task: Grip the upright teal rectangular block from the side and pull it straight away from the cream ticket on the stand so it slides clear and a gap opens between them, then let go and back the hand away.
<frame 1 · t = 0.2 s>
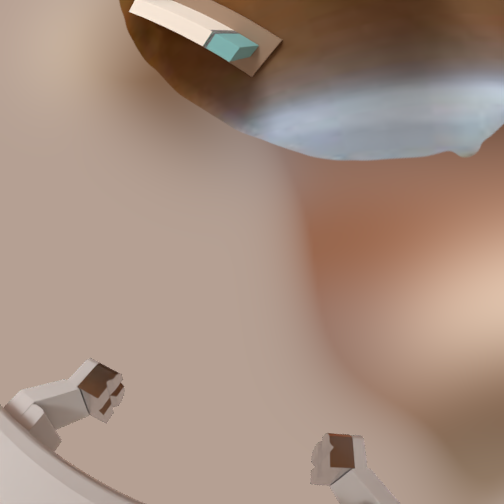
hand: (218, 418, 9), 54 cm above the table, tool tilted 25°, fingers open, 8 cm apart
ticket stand: (214, 26, 39), on the table
teal rectangular block: (233, 45, 36), point 7 cm above the table, slide at 0.0 cm
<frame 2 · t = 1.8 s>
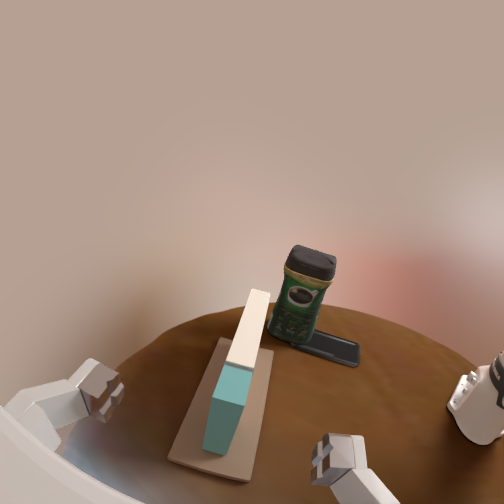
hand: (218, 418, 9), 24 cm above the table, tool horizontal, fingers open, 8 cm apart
coffee jar: (288, 333, 55), on the table
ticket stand: (230, 400, 36), on the table
phone: (325, 348, 53), on the table
teal rectangular block: (225, 414, 26), point 7 cm above the table, slide at 0.0 cm
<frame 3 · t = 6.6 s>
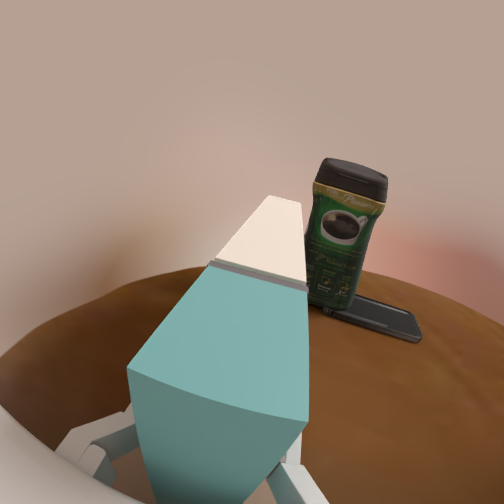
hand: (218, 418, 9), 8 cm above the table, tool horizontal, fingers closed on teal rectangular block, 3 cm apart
coffee jar: (317, 296, 37), on the table
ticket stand: (228, 400, 18), on the table
phone: (371, 319, 35), on the table
teal rectangular block: (212, 440, 8), point 7 cm above the table, slide at 0.0 cm, touching gripper
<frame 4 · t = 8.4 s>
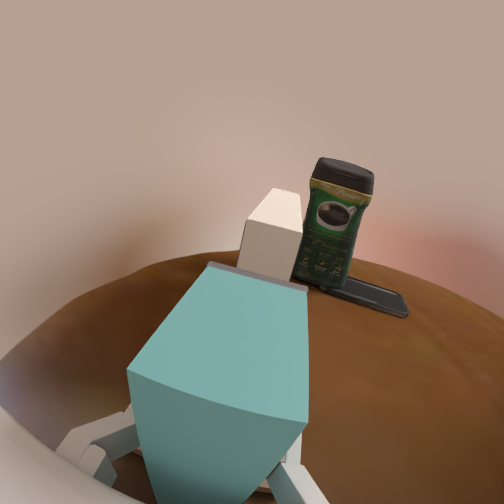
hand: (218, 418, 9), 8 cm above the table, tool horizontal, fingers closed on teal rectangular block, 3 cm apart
coffee jar: (314, 278, 43), on the table
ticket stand: (243, 351, 23), on the table
phone: (362, 297, 41), on the table
teal rectangular block: (212, 440, 8), point 7 cm above the table, slide at 6.0 cm, touching gripper
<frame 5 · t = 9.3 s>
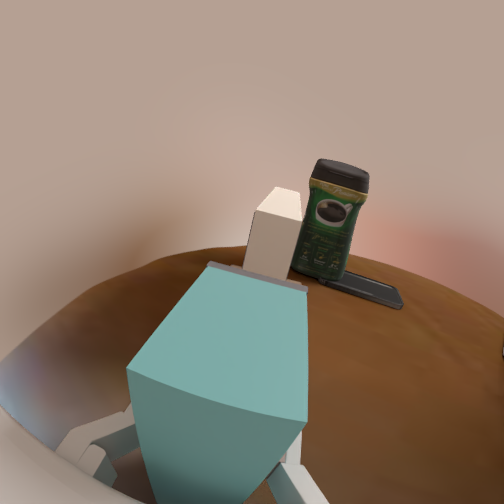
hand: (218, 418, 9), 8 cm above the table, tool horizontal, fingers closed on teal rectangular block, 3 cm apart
coffee jar: (314, 271, 46), on the table
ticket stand: (249, 333, 26), on the table
phone: (359, 290, 43), on the table
teal rectangular block: (212, 440, 8), point 7 cm above the table, slide at 9.0 cm, touching gripper
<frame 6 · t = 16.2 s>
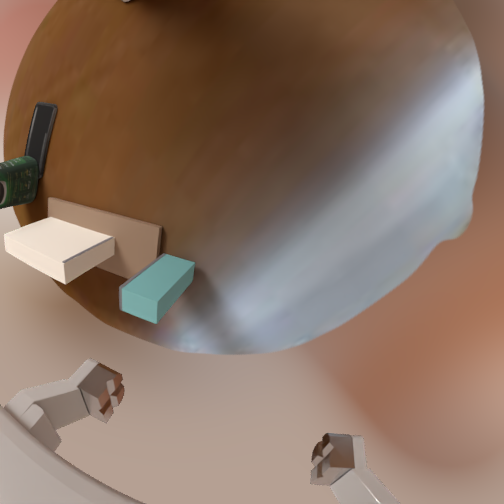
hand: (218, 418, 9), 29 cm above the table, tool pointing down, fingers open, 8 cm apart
coffee jar: (31, 178, 40), on the table
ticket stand: (96, 237, 41), on the table
phone: (41, 139, 38), on the table
teal rectangular block: (160, 284, 33), point 7 cm above the table, slide at 9.0 cm
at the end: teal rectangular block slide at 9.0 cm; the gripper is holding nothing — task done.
